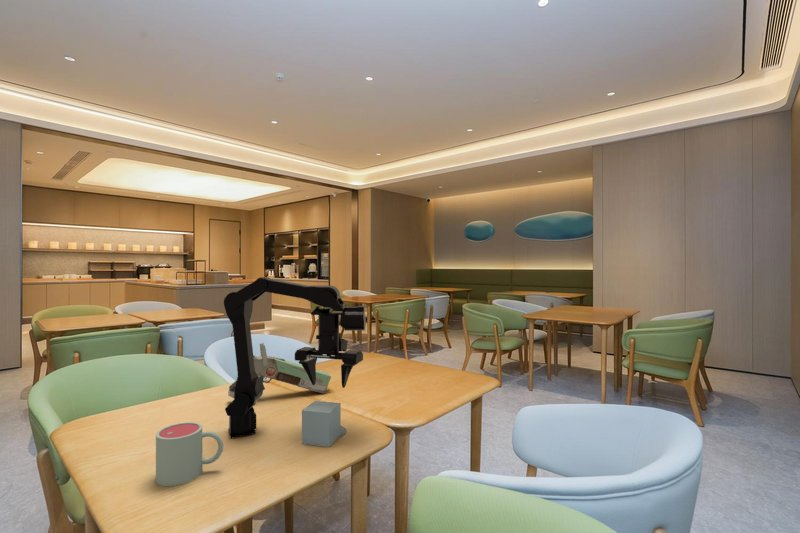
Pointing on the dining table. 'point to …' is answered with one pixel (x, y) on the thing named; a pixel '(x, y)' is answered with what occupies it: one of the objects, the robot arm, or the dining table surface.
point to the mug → (182, 453)
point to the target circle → (342, 431)
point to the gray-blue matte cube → (321, 423)
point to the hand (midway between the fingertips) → (328, 386)
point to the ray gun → (285, 373)
